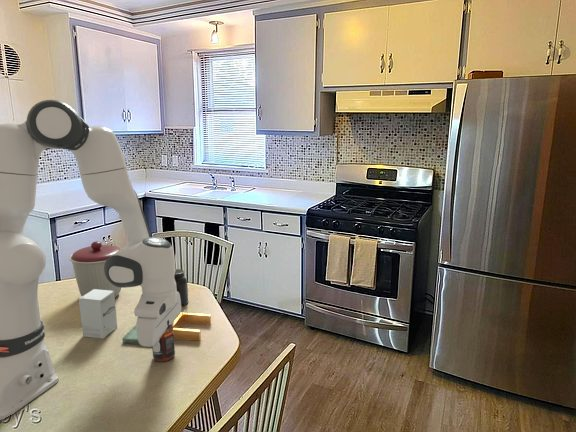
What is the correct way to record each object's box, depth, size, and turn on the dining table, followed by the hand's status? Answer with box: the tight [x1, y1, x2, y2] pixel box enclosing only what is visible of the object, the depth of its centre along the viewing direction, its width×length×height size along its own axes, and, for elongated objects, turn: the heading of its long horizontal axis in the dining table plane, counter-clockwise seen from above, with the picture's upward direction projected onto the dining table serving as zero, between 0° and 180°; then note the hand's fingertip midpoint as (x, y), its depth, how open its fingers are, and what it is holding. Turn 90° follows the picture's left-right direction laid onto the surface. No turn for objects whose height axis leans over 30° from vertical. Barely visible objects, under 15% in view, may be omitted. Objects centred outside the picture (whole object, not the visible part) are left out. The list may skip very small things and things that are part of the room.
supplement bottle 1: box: [151, 320, 176, 363], centre depth 116 cm, size 6×6×11 cm
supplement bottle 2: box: [174, 268, 189, 307], centre depth 149 cm, size 7×7×12 cm
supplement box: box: [78, 289, 118, 340], centre depth 129 cm, size 7×7×13 cm
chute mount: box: [121, 309, 212, 345], centre depth 132 cm, size 20×22×3 cm
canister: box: [68, 240, 122, 298], centre depth 153 cm, size 18×18×21 cm
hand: (163, 343), depth 117 cm, fingers closed on supplement bottle 1, 6 cm apart
